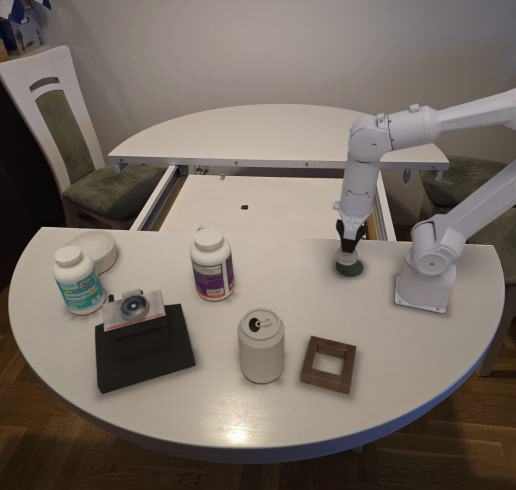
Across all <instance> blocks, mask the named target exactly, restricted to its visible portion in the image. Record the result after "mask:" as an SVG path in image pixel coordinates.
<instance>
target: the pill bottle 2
mask: <svg viewBox="0 0 516 490" xmlns="http://www.w3.org/2000/svg"><path fill="white" fill-rule="evenodd" d="M189 256H190V262H191V267H192V272H193V278H194V283H195V289H196V292H197V294H198V296H200V297H201V298H203V299H204V300H206V301H211V302H217V301H222V300H224V299H226V298H228V297H229V296H230V295H231V294H232V293H233V292H234V289H235V286H236V285H235V274H234V264H233V254H232V246H231V244H230V242H229V241H228V240H227V239H226V238H225V237H224V233H223V231H222V230H221V229H219V228H217V227H211V226H210V227H204V228H200V229H199V230H198V231H196V232H195V234H194V235H193V243H192V244H191V246H190V249H189Z"/></svg>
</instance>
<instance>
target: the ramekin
mask: <svg viewBox="0 0 516 490" xmlns="http://www.w3.org/2000/svg"><path fill="white" fill-rule="evenodd" d="M66 246H77V247H79V248H80V249H81V252H82V253H84V254H87V255H89V256H90V257H91V258H92V260H93V262H94V265H95V267H96V270H97V273H98V275H100V274H103V273H104V272H106V271H108V270H109V269H110V268H111V267H112V266H113V265H114V264H115V263H116V259H117V248H116V240H115V237H114V235H113V233H111V232H109V231H106V230H101V229H94V230H93V229H92V230H88V231H84V232H81V233H79V234H76V235H75V236H73V237H72V238H71V239H69V240H68V241H67V242H66V244H65V245H64V247H66Z"/></svg>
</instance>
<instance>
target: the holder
mask: <svg viewBox="0 0 516 490" xmlns="http://www.w3.org/2000/svg"><path fill="white" fill-rule="evenodd" d="M356 353H357V345H355V344H350V343H345V342H340V341H337V340H333V339H328V338H324V337H319V336H315V335H310V340H309V343H308V346H307V350H306V354H305V358H304V360H303V361H304V362H303V366H302V369H301V372H300V382H301V383H304V384H308V385H310V386H311V385H312V386H315V387H318V388H323V389H326V390H330V391H333V392H338V393H341V394H345V395H349V394H350V391H351V385H352V379H353V378H352V377H353V372H354V365H355V359H356ZM318 354H322V355H325V356H330V357H334V358H338V359H341V360H342V359H343V360H344V363H343V370H342V375H340V374H336V373H332V372H328V371H324V370H321V369H317V368H314V367H315V363H316V358H317V355H318Z"/></svg>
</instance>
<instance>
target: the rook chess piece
mask: <svg viewBox="0 0 516 490" xmlns="http://www.w3.org/2000/svg"><path fill="white" fill-rule="evenodd" d="M358 255H359V254H358V251H357V248H355V250H354V252H353V253H352V254H351V253H346V252H342V249H341V245H340V246H339V247H338V248H337V249H336V251H335V255H334V258H335V261H336V262H337V261H338V262H339V263H340V264H342V265H346V266H348V265H352V264H354V263H355V262H357V259H358Z"/></svg>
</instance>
